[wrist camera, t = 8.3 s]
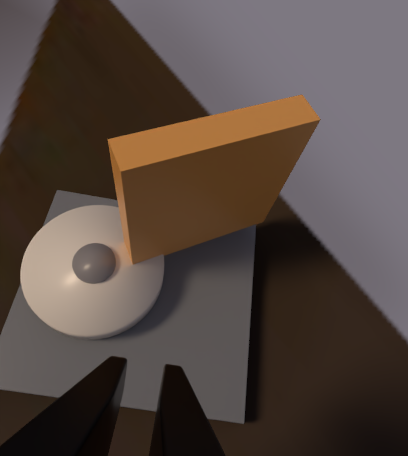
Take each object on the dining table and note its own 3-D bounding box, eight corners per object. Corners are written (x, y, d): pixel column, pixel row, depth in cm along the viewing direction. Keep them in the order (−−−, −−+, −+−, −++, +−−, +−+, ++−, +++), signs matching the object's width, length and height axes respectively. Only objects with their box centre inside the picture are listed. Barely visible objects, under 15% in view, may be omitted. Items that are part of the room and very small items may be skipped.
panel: (239, 423, 20) (255, 424, 17) (-11, 388, 20) (-42, 382, 17) (251, 231, 26) (265, 206, 23) (61, 199, 26) (48, 168, 23)
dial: (45, 363, 19) (-52, 312, 10) (16, 237, 22) (-78, 112, 13) (281, 269, 24) (362, 175, 14) (229, 175, 27) (269, 49, 18)
